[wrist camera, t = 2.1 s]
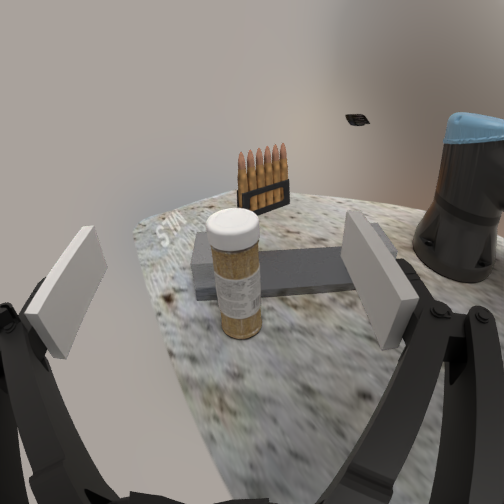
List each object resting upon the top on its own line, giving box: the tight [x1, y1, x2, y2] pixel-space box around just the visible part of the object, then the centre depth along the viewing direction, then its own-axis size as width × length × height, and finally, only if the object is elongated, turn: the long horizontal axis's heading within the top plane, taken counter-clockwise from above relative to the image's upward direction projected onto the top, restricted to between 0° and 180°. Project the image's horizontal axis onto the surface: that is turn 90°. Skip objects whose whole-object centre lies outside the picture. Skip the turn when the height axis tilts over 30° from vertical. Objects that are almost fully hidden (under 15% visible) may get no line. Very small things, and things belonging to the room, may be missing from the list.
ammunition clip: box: [237, 143, 290, 216], centre depth 53 cm, size 11×2×12 cm, turn 125°
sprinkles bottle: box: [206, 208, 262, 339], centre depth 30 cm, size 5×5×14 cm
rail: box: [191, 223, 398, 301], centre depth 39 cm, size 25×8×5 cm, turn 93°
